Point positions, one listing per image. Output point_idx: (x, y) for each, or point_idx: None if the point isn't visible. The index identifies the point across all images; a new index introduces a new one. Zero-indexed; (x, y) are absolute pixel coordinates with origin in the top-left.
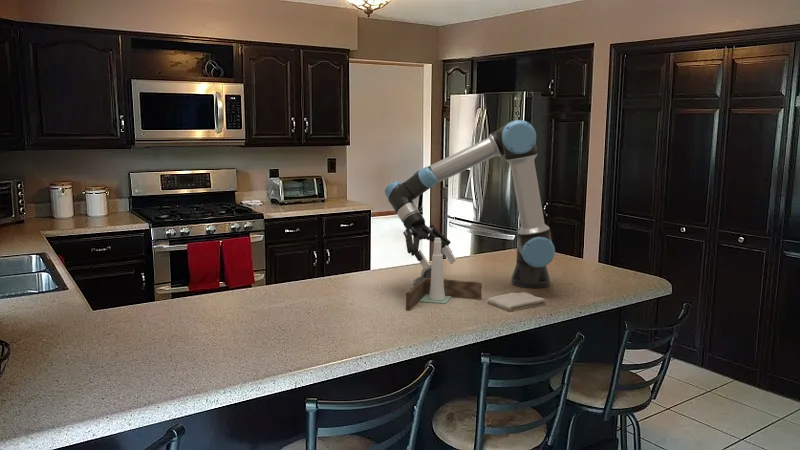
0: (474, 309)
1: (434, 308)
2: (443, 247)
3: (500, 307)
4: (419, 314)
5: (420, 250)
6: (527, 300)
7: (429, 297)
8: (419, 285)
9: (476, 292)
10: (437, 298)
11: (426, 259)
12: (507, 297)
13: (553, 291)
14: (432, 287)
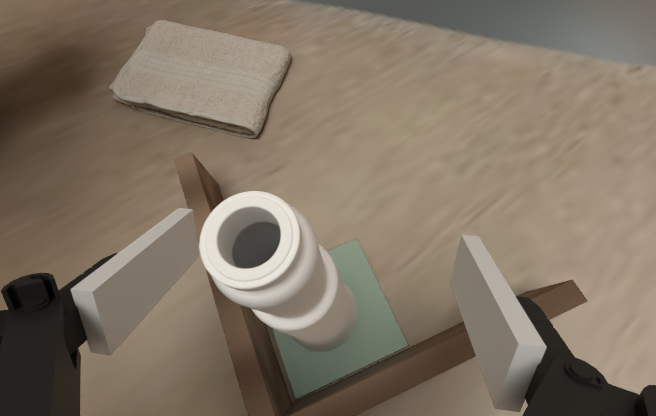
0: (341, 134)
1: (433, 236)
2: (76, 347)
3: (279, 86)
4: (533, 229)
5: (524, 339)
6: (205, 37)
7: (352, 329)
8: (414, 355)
9: (213, 187)
10: (347, 286)
11: (477, 262)
12: (209, 86)
13: (5, 77)
14: (351, 310)
